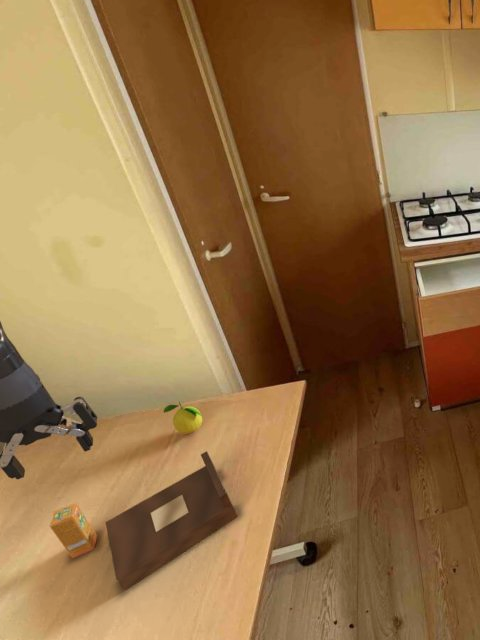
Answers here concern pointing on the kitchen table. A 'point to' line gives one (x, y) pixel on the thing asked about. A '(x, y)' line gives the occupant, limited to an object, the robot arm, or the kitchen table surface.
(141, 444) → the kitchen table surface
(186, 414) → the lemon
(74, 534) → the supplement box
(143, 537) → the shelf
